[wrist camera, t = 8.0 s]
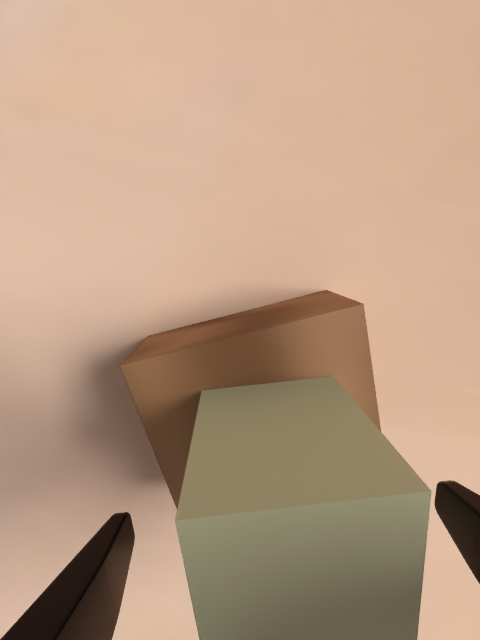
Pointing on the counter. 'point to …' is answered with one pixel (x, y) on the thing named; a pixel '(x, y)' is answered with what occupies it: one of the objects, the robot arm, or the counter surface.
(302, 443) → the green cube
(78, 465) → the counter surface
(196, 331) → the walnut block
